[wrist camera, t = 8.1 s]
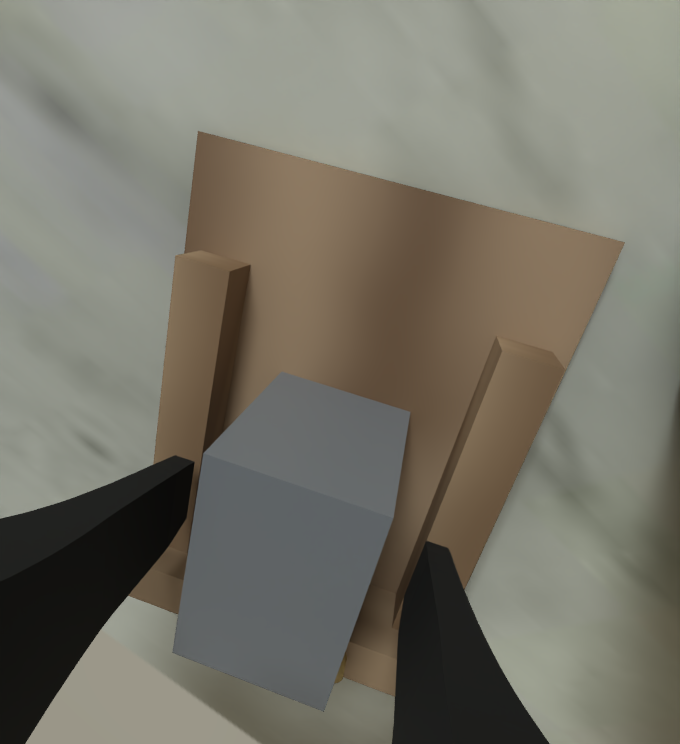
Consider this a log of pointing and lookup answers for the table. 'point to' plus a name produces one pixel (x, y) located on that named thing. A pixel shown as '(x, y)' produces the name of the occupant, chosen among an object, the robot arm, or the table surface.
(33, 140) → the table surface
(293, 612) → the plug block
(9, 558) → the robot arm
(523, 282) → the wooden railed tray
